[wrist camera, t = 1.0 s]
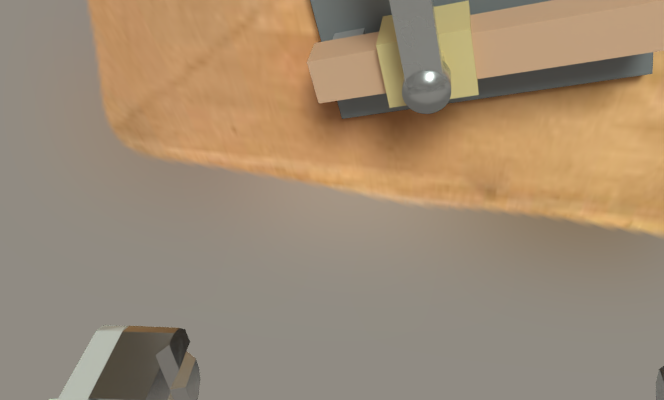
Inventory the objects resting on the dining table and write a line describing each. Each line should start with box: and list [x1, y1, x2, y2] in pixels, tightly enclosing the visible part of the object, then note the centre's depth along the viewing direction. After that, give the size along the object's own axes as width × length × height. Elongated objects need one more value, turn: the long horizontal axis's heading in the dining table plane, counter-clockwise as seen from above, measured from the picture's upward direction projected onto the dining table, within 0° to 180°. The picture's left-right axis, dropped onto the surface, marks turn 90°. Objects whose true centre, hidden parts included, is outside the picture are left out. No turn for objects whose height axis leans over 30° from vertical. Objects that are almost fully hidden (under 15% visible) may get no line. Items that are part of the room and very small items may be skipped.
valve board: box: [307, 0, 664, 119], centre depth 37 cm, size 20×14×7 cm
